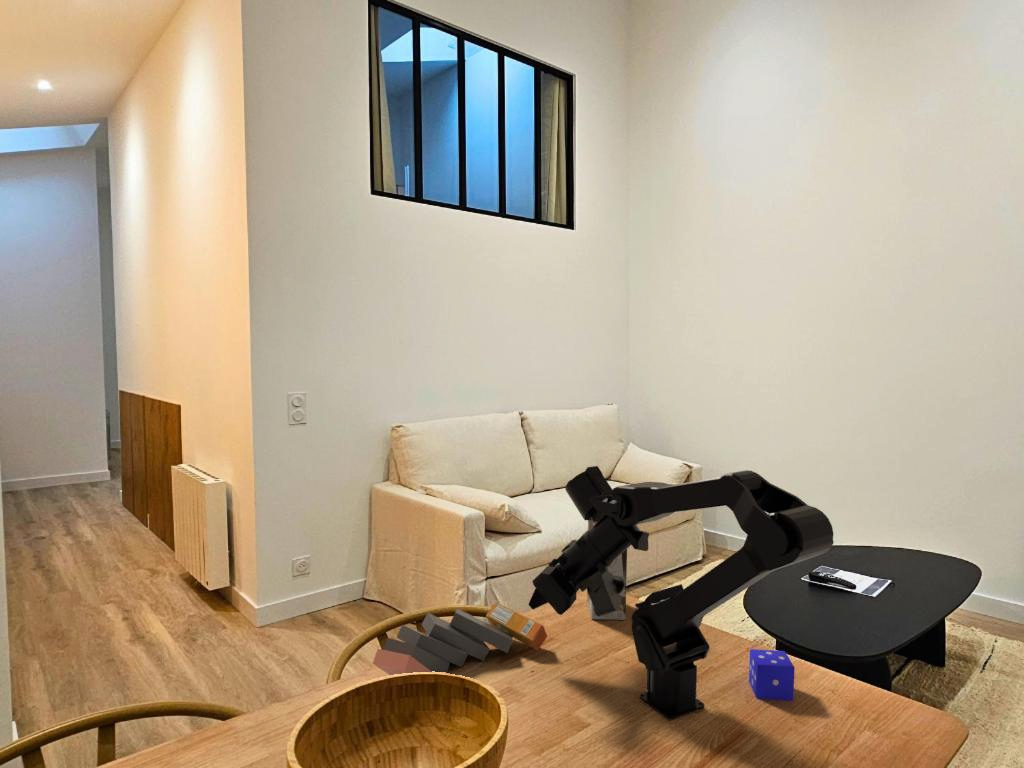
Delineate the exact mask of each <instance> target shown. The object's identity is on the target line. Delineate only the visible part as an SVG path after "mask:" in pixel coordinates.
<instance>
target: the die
mask: <svg viewBox="0 0 1024 768" xmlns="http://www.w3.org/2000/svg"><path fill="white" fill-rule="evenodd" d="M748 667H749V668H748V669H749V670H748V673H749V674H748V683H749V685H750V687H751V690H752V692H753V693H754V696H755V698H756V699H759V700H760V699H761V700H771V701H772V700H774V701H789V702H793V701H794V694H795V693H794V692H795V690H794V689H795V666H794V664H793V662H792V660H791V659H790V658H789V656H788V654H787V652H786V651H785V650H772V649H755V648H754V649H753V648H751V649H749V665H748Z"/></svg>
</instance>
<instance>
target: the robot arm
mask: <svg viewBox="0 0 1024 768" xmlns="http://www.w3.org/2000/svg"><path fill="white" fill-rule="evenodd" d="M564 489H565V492H566V494H568V496H569V499H570V501H572V503H573V505H574V506H575V508H576V509H577V511H578V512H579V514H580V515H581V517H582V519H583V520H584V521H588V520H593V521H594V522H597V523H596V524H595V525H594V526H593V527H592V528H590V529H589V530H588V529H587V530H586V531H585V532H584V533H583V534H582V535H581V536H580V537H579V538H578V539H577V540H576V539H572V540H570V541H569V543H568V544H567V545H565V546H564V547H563V548H562V549H561V554H560V555H559V556H558V557H557V558H553V559H552V561H550V562H549V564H548V565H546V567H544V569H542V570H541V571H540V572H539V574H538V575H537V576H535V577H534V579H532V581H531V582H532V585H533V587H534V590H533V593H532V596H531V597H530V600H529V602H528V606H529V607H530V608H531V609H532V610H535V609H538V608H540V607H541V606H544V605H546V604H549V605H550V606H551V607H552V608H553V610H554V611H555V612H556V614H559V615H560V616H563V614H565V613H566V612H567V611H568V610H569V609H570V608H571V607H572V606H573V604H574V603H575V601H576V600H577V593H578V591H579V590H580V591H581V592H585V591H587V592H588V594H589V597H590V599H591V601H592V604H593V606H594V612H595V614H596V615H597V616H598V617H599V616H602V615H605V614H609V613H612V612H615V611H617V610H618V609H619V607H620V605H621V599H622V596H621V595H620V592H621V591H622V590H623V589H624V587H625V586H626V587H627V583H626V584H625V582H624V579H623V577H620V576H614V575H612V573H609V571H608V568H607V567H608V566H610V565H611V564H612V561H613V560H614V559H616V558H617V557H618V556H619V555H620V554H621V553H623V552H624V551H625V550H626V549H627V550H628V548H630V546H632V548H633V549H634V550H637V551H643V552H647V551H649V536H650V532H647V531H643V530H641V529H640V528H639V525H641V524H645V523H651V522H656V521H658V520H661V519H664V518H666V517H669V516H671V515H673V514H674V513H678V512H686V511H692V510H693V511H694V510H701V509H710V508H716V507H723V506H726V507H727V508H729V509H730V510H731V511H732V513H733V515H734V517H735V519H736V520H737V523H738V525H739V527H740V529H741V530H742V531H743V532H744V533H745V534H746V538H745V541H744V543H743V546H741V547H740V549H738V550H737V551H735V552H734V553H732V554H731V555H729V556H728V557H727V558H726V559H725V560H723V561H721V562H720V563H719V564H717V565H716V566H714V567H713V568H712V569H710V570H709V571H707V572H706V573H704V574H703V575H702V576H700V577H699V578H698V579H696V580H694V581H693V582H692V583H690V584H689V585H688V586H686V587H685V588H684V587H683V584H678V585H677V584H676V585H674V586H671V587H667V588H663V589H660V590H656V591H653V592H651V593H650V594H648V596H647V597H646V598H645V599H644V600H643V601H641V602H638V603H634V606H635V607H636V609H635V610H634V611H633V612H632V614H631V617H630V618H631V620H632V621H631V633H632V637H633V643H634V646H635V651H636V656H637V658H638V659H637V661H638V662H639V663H641V664H643V665H644V667H645V669H646V692H642V693H640V694H639V695H638V699H639V700H640V701H641V702H643V703H644V704H646V705H647V706H648V707H650V708H651V709H652V710H655V712H657V713H658V714H659V715H661V716H663V717H664V718H666V719H668V720H674V719H677V718H680V717H683V716H685V715H688V714H691V713H695V712H698V711H701V710H703V709H704V708H705V703H704V702H703V701H701V700H699V699H697V680H698V679H697V676H698V675H697V674H698V666H697V665H695V662H698V661H699V660H704V659H706V658H707V655H708V653H709V650H710V644H709V643H708V641H707V639H706V637H705V636H704V634H703V633H702V631H701V630H700V626H701V625H702V622H703V619H704V617H705V616H706V615H707V614H709V613H711V612H712V611H714V610H715V609H717V608H718V607H720V606H722V605H723V604H725V603H726V602H727V601H729V600H731V599H732V598H734V597H736V596H737V595H739V594H740V593H742V592H744V591H745V590H747V589H748V588H749V587H751V586H752V585H755V583H757V582H759V581H760V580H762V579H764V578H765V577H766V576H768V575H770V574H771V573H773V572H775V571H776V570H779V569H782V568H786V567H788V566H792V565H795V564H797V563H800V562H803V561H807V560H809V559H811V558H815V557H817V556H821V555H823V554H825V553H827V552H828V551H829V550H830V549H831V548H832V546H833V545H834V543H835V542H834V531H833V530H834V529H833V525H832V523H831V521H830V519H829V517H828V516H827V515H826V514H825V513H824V512H823V511H822V510H821V509H819V508H817V507H816V506H815V507H814V506H811V505H808V504H807V503H806V502H805V501H803V500H802V499H801V498H800V497H798V496H796V495H794V494H793V493H791V492H789V491H786V490H785V489H783V488H781V487H779V486H776V485H775V484H772V483H770V481H768V480H767V479H765V478H764V477H763V476H761V474H758V472H755V471H752V470H740V471H735V472H729V473H725V474H723V475H722V476H719V477H718V476H717V477H712V478H706V479H699V480H694V481H688V482H683V483H675V484H670V483H666V482H662V481H661V482H660V481H659V482H658V481H643V482H637V483H632V484H625V485H619V486H615V487H613V488H612V487H611V485H610V484H609V483H608V481H607V480H606V478H605V476H604V474H603V472H602V470H601V468H600V467H599V466H598V465H593V466H587V468H586V469H585V471H582V472H580V473H579V474H577V475H575V476H573V478H572V479H570V480H569V481H568V482H566V485H565V488H564ZM587 592H586V593H587Z"/></svg>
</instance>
